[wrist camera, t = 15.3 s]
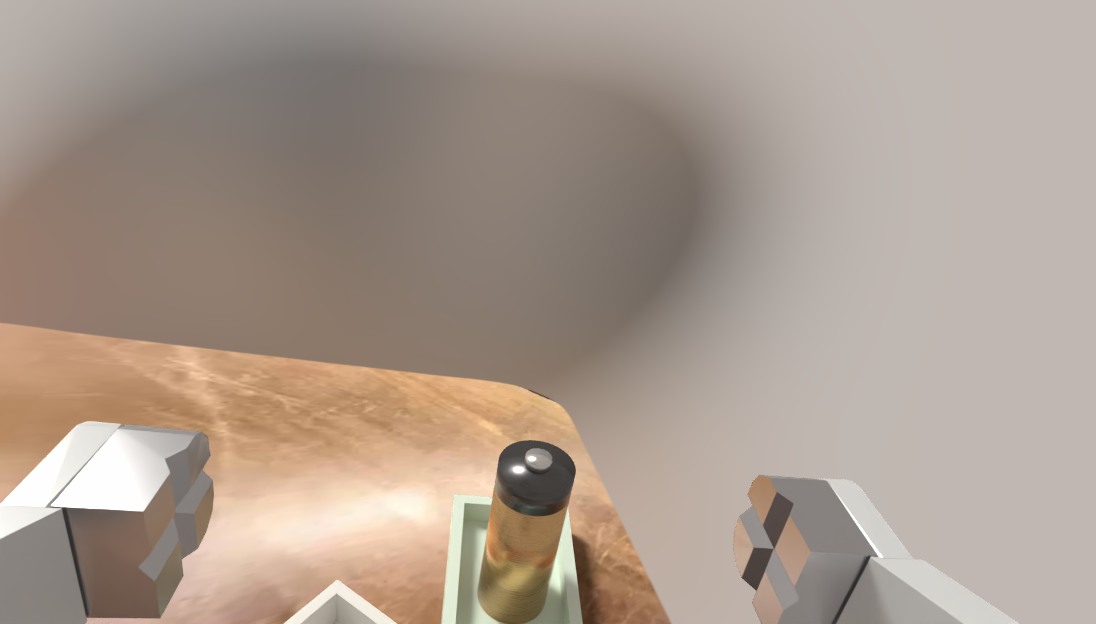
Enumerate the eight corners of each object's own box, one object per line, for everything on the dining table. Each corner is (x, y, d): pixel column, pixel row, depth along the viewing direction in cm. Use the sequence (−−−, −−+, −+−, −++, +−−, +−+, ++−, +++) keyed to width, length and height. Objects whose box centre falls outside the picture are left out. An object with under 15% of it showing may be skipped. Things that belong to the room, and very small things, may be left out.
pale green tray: (582, 710, 37) (590, 683, 36) (432, 705, 36) (436, 676, 35) (561, 527, 50) (567, 503, 49) (451, 519, 49) (454, 494, 48)
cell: (462, 597, 42) (484, 458, 37) (503, 555, 45) (528, 423, 40) (520, 637, 40) (551, 496, 35) (558, 590, 43) (591, 456, 38)
